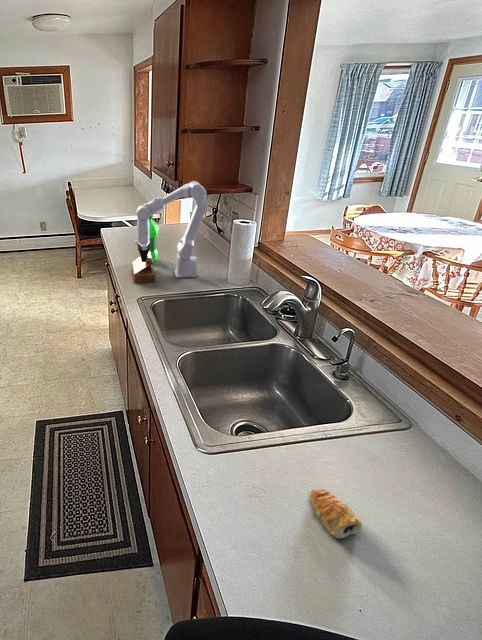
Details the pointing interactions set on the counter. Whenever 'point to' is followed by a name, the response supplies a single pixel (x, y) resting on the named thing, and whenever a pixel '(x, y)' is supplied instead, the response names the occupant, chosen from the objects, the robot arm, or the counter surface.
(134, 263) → the lid
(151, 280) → the brown wooden box
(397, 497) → the counter surface
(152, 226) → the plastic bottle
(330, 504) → the pastry
